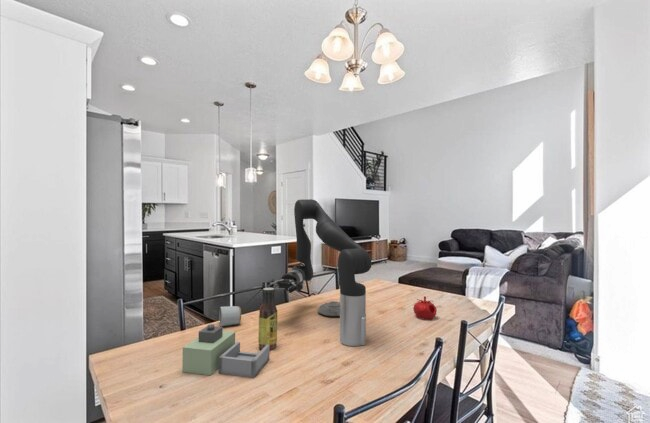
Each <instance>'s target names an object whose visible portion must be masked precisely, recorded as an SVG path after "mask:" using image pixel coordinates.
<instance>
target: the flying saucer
mask: <svg viewBox="0 0 650 423" xmlns="http://www.w3.org/2000/svg"><path fill="white" fill-rule="evenodd" d="M317 312H318V313H319V314H321V315H323V316H327V317H340V301H339V302H338V301H333V300H332V301H329V302H328V301H327V302H325V303H322V304H321V305H320V306H319V307H318V309H317Z"/></svg>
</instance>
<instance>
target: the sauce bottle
mask: <svg viewBox="0 0 650 423" xmlns="http://www.w3.org/2000/svg"><path fill="white" fill-rule="evenodd" d="M275 291H276V289H274V288H267V287H264V288H262V294H263V296H262V298H263V299H262V303H261V305H260V307H259V309H258V310H259V311H258V312H259V315H258V339H257V342H258V348H259V349H261V350H262V349H263V348H264V347H265V346H266V345H270V350H273V349H275V348H276V347H277V342H278V308H277V307H276V306H277V305H276V303H275Z"/></svg>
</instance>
